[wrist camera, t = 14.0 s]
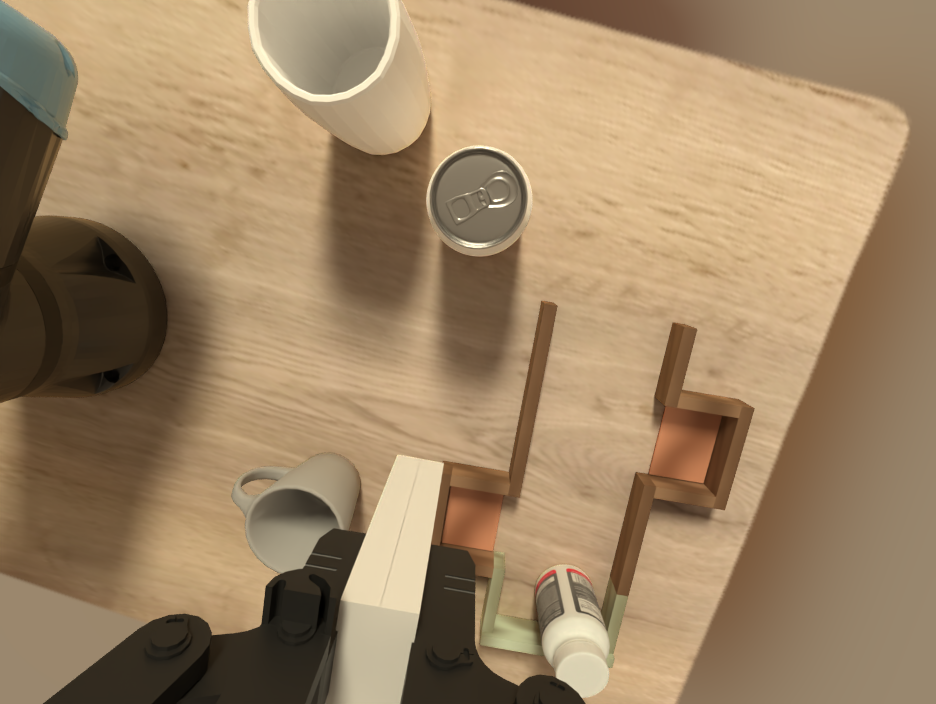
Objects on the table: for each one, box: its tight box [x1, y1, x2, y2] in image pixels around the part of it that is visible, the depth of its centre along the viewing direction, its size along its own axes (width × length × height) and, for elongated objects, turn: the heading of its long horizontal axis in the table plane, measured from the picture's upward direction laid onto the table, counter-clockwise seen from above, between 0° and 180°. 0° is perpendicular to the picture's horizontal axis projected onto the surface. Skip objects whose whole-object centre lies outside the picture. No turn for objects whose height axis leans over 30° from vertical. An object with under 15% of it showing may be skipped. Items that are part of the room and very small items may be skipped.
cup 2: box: [231, 453, 361, 574], centre depth 41 cm, size 8×10×8 cm
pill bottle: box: [535, 564, 610, 698], centre depth 41 cm, size 5×5×10 cm
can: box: [426, 145, 532, 257], centre depth 34 cm, size 6×6×12 cm
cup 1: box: [248, 0, 431, 155], centre depth 31 cm, size 8×8×14 cm
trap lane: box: [431, 301, 755, 668], centre depth 42 cm, size 24×31×3 cm
